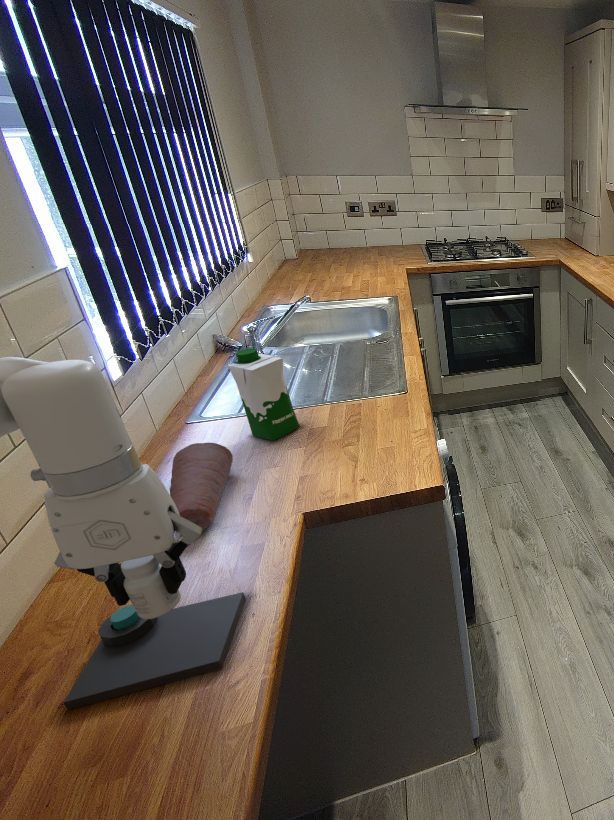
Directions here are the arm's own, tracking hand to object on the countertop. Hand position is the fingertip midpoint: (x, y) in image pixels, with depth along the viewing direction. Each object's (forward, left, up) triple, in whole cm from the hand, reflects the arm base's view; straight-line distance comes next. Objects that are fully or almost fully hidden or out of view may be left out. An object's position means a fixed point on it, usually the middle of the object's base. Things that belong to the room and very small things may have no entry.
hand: (152, 590), depth 66 cm
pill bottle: (0, 0, -3) cm, 3 cm away
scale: (-2, +1, -11) cm, 11 cm away
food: (-8, +35, -11) cm, 38 cm away
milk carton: (0, +62, -11) cm, 63 cm away
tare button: (-7, +5, -8) cm, 12 cm away
